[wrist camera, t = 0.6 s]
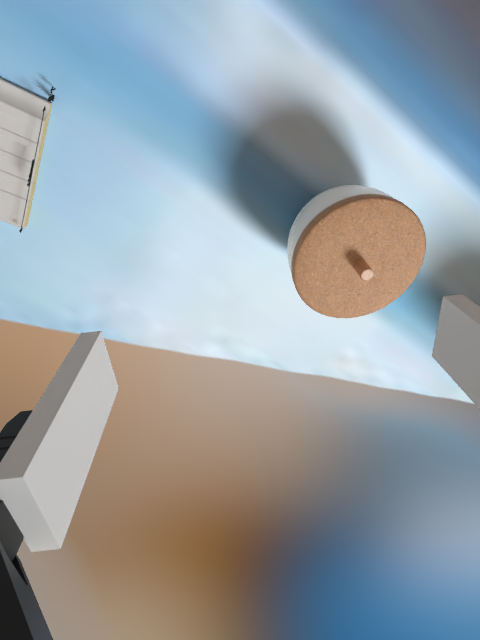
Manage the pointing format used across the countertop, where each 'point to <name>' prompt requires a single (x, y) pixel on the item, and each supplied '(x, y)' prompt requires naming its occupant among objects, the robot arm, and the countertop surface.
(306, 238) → the lidded jar
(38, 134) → the baseboard
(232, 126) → the countertop surface
